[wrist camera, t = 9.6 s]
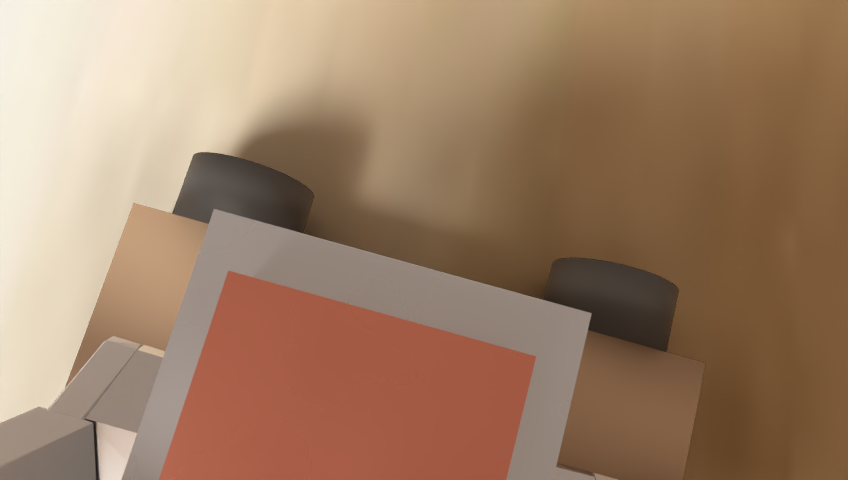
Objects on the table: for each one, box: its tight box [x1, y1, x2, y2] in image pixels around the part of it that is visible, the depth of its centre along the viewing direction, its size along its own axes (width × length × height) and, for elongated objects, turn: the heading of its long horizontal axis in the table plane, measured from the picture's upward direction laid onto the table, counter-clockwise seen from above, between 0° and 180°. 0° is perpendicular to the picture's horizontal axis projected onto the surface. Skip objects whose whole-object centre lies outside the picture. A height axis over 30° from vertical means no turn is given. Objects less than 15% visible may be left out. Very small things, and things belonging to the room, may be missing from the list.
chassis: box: [65, 152, 706, 480], centre depth 23 cm, size 15×18×4 cm
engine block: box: [121, 209, 592, 480], centre depth 12 cm, size 6×5×8 cm
